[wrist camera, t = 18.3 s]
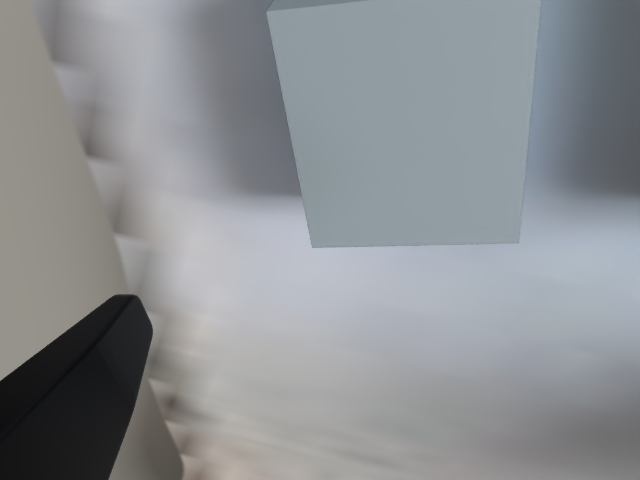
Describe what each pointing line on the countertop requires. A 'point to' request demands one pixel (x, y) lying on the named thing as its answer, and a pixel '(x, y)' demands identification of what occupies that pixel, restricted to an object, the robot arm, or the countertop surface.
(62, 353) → the robot arm
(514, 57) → the cover
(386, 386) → the countertop surface
